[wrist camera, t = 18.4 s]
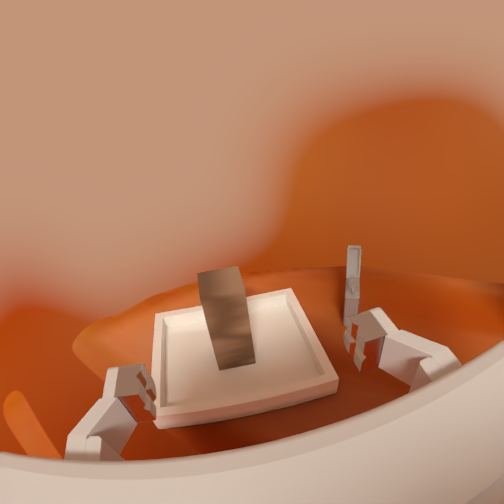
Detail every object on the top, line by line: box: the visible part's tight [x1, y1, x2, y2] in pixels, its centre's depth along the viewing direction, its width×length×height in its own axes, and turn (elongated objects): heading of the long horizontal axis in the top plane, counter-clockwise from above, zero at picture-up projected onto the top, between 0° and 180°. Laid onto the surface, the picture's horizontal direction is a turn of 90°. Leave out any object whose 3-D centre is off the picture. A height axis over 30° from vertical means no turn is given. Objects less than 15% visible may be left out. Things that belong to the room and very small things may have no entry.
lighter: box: [343, 245, 361, 326], centre depth 37 cm, size 7×2×8 cm, turn 164°
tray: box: [151, 288, 339, 429], centre depth 33 cm, size 18×16×2 cm
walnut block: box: [198, 266, 256, 371], centre depth 31 cm, size 4×4×10 cm
